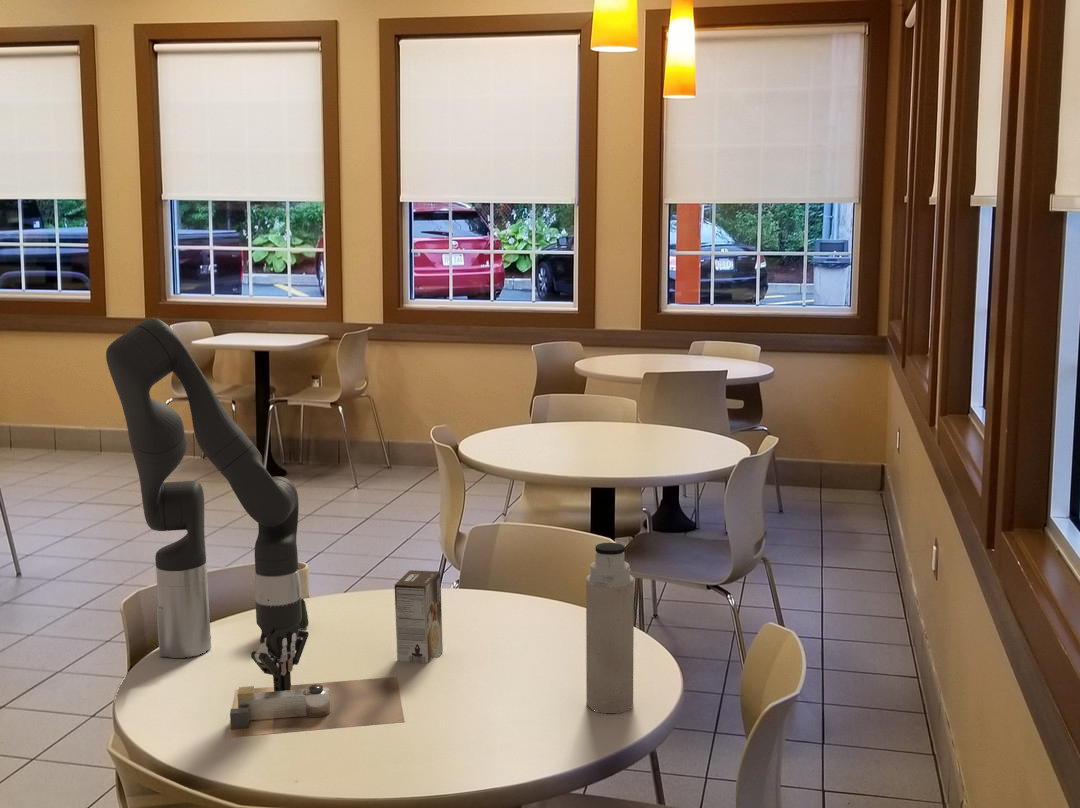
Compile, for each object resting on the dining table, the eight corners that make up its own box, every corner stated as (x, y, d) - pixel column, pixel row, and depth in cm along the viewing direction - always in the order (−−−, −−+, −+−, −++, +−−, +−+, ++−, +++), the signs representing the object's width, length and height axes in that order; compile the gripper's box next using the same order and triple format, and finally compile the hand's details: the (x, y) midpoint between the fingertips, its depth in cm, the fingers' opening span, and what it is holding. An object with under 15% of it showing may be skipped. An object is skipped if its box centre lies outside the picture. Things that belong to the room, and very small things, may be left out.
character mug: (291, 617, 240) (288, 557, 238) (321, 621, 238) (319, 560, 236) (263, 635, 230) (260, 572, 228) (294, 639, 227) (291, 576, 225)
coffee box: (411, 649, 222) (409, 569, 219) (443, 651, 220) (441, 570, 218) (396, 667, 213) (393, 583, 210) (429, 669, 212) (427, 585, 209)
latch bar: (330, 705, 193) (329, 678, 192) (330, 716, 189) (329, 688, 188) (240, 712, 191) (239, 685, 190) (238, 723, 186) (236, 696, 186)
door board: (227, 744, 182) (227, 737, 182) (236, 696, 200) (235, 689, 200) (404, 728, 187) (404, 721, 187) (397, 683, 206) (397, 676, 205)
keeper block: (230, 729, 185) (230, 713, 184) (231, 725, 186) (230, 708, 186) (248, 728, 185) (248, 711, 185) (249, 723, 187) (248, 707, 186)
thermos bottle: (593, 692, 201) (593, 537, 196) (638, 697, 198) (639, 540, 194) (580, 710, 193) (580, 549, 189) (626, 716, 191) (627, 554, 186)
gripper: (270, 611, 186) (275, 712, 189) (320, 587, 198) (324, 683, 200) (234, 605, 189) (239, 704, 192) (285, 582, 201) (289, 675, 204)
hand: (282, 693), depth 196 cm, fingers closed
